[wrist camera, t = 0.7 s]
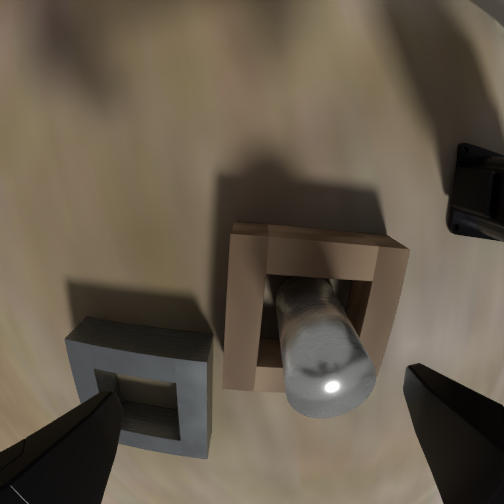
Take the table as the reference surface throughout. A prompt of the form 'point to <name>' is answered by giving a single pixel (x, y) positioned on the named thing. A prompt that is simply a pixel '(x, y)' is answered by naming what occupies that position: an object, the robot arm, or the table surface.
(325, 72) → the table surface
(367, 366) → the metal cylinder peg
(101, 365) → the block
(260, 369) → the socket block
